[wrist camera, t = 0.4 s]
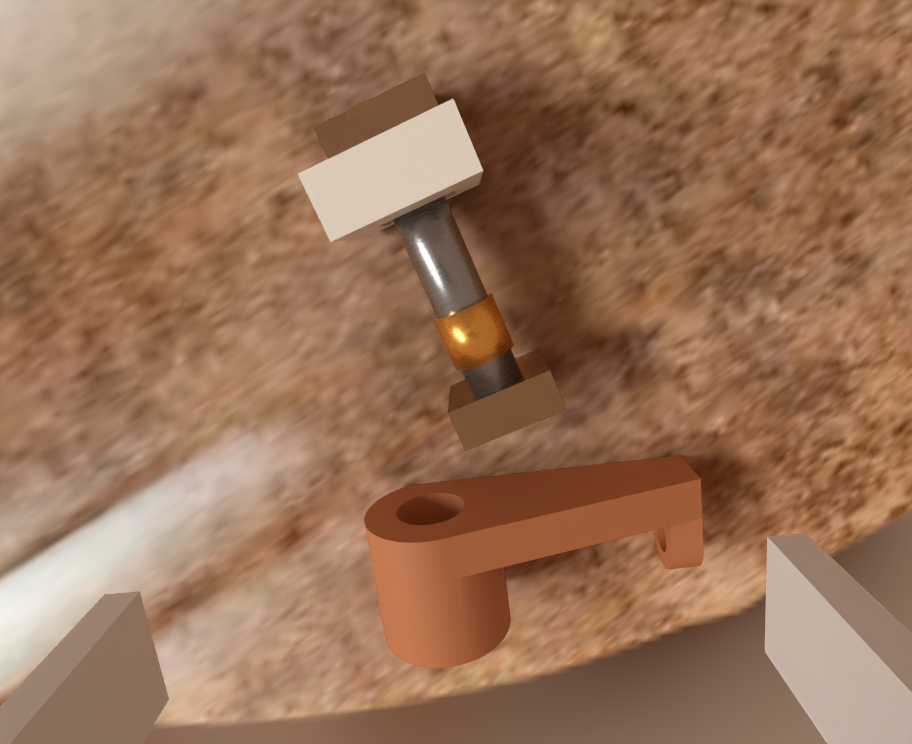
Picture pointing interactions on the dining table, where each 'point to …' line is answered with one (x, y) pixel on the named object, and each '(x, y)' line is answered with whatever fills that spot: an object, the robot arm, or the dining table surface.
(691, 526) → the crank
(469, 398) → the pipe rig
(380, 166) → the sleeve
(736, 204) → the dining table surface
